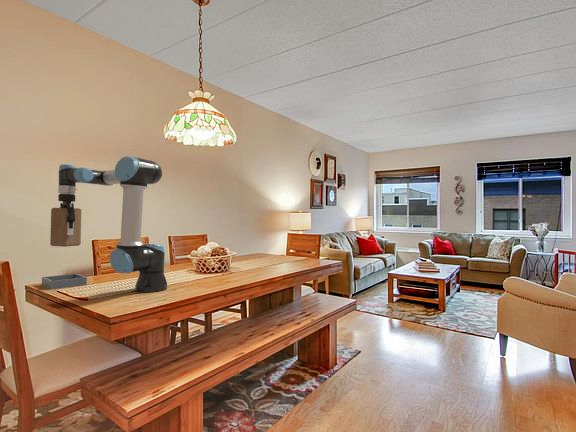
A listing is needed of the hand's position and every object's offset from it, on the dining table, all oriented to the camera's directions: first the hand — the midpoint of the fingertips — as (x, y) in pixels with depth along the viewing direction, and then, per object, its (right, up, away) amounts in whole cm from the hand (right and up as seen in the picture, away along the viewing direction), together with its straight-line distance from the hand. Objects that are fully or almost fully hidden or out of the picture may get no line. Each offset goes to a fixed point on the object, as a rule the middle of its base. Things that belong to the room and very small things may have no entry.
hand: (66, 234), depth 174 cm
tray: (-1, -27, 0) cm, 27 cm away
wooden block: (0, -6, 0) cm, 6 cm away
